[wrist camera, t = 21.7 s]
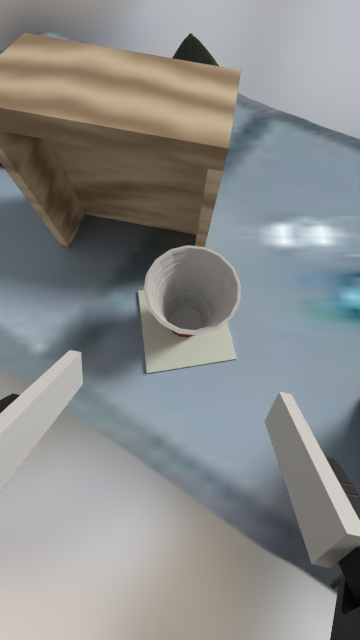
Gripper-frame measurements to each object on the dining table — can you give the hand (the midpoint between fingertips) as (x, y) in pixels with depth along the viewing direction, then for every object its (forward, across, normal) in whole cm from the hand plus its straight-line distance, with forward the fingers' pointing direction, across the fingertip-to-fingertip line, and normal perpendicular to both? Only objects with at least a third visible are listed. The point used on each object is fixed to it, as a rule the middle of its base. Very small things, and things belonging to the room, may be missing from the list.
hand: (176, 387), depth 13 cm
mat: (+20, 0, +5) cm, 20 cm away
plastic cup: (+20, 0, +4) cm, 20 cm away
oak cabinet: (+32, +12, -8) cm, 35 cm away
